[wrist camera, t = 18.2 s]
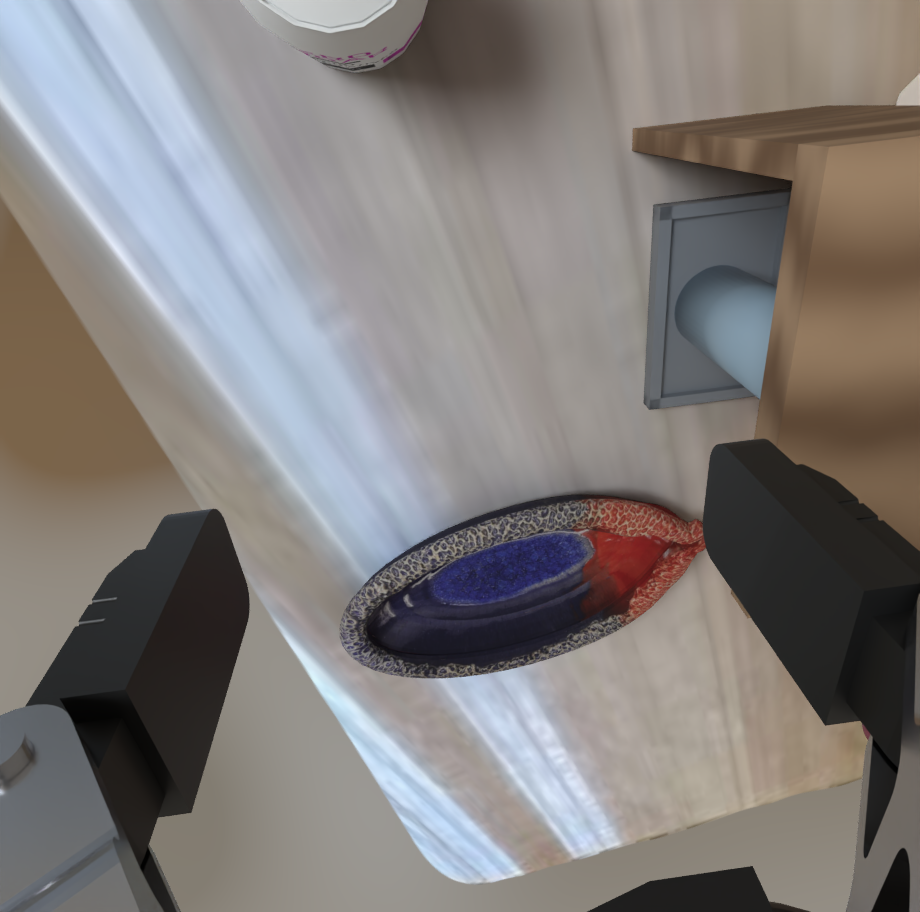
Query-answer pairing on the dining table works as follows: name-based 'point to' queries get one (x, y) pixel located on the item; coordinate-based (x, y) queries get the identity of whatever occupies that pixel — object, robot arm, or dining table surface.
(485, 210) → the dining table surface
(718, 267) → the tall pale blue cylinder
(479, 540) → the dish
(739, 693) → the dining table surface
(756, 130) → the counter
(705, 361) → the tray
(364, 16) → the supplement can
